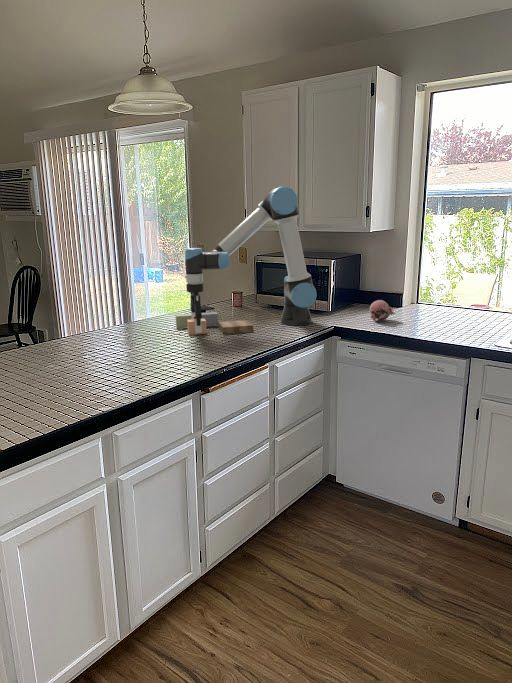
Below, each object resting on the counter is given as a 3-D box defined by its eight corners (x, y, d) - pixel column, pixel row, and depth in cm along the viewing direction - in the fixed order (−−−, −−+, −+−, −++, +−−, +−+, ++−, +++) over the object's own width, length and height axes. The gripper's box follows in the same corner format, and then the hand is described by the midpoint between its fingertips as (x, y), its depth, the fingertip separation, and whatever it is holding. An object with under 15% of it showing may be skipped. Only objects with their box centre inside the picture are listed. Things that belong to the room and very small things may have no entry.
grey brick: (216, 323, 258) (216, 311, 256) (218, 325, 253) (218, 313, 252) (200, 324, 256) (200, 312, 255) (202, 327, 251) (201, 314, 250)
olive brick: (192, 325, 255) (191, 313, 254) (193, 327, 251) (193, 315, 249) (176, 326, 253) (175, 314, 252) (177, 328, 249) (176, 316, 247)
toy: (398, 322, 247) (396, 314, 261) (392, 301, 244) (390, 294, 258) (373, 329, 250) (372, 321, 264) (367, 308, 248) (366, 301, 262)
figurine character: (191, 321, 271) (204, 323, 258) (190, 306, 270) (203, 307, 257) (203, 319, 275) (216, 321, 262) (202, 305, 274) (215, 306, 261)
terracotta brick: (204, 331, 243) (204, 318, 242) (206, 333, 238) (206, 320, 237) (187, 332, 241) (187, 319, 240) (189, 334, 236) (188, 322, 235)
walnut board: (247, 326, 251) (247, 320, 250) (253, 331, 240) (252, 325, 239) (218, 328, 248) (218, 322, 247) (223, 333, 237) (222, 327, 236)
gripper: (183, 279, 245) (185, 324, 250) (189, 287, 221) (191, 335, 227) (199, 279, 247) (200, 323, 252) (207, 286, 223) (208, 334, 228)
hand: (196, 329), depth 239 cm, fingers open, 13 cm apart
